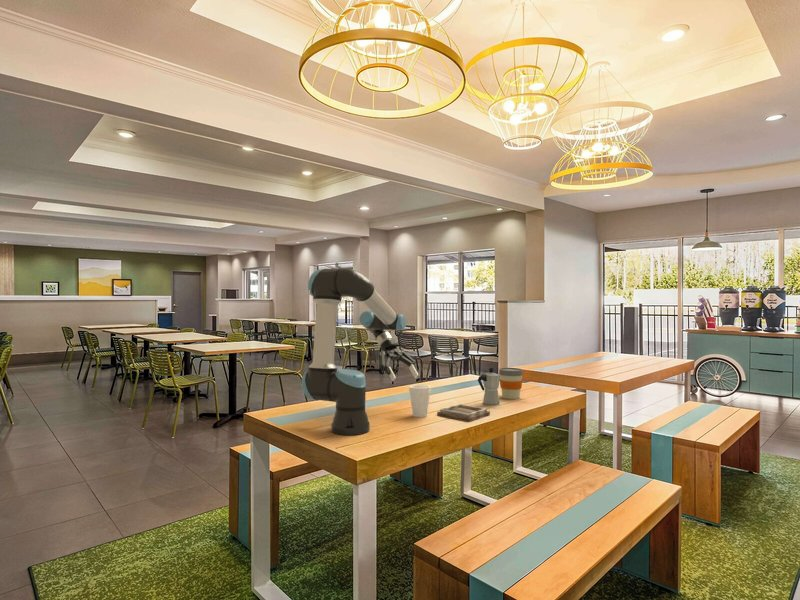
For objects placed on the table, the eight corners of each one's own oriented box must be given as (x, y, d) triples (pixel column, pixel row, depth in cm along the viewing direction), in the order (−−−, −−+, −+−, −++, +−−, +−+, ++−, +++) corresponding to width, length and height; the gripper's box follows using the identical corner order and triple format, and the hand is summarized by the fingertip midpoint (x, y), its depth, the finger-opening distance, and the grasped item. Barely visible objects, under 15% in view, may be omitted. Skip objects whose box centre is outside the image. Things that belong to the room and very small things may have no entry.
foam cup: (405, 416, 203) (405, 387, 203) (414, 412, 211) (414, 384, 211) (425, 419, 198) (425, 389, 198) (433, 414, 206) (433, 385, 207)
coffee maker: (494, 400, 237) (494, 365, 238) (506, 403, 230) (506, 367, 230) (472, 403, 230) (472, 367, 230) (484, 407, 222) (484, 370, 222)
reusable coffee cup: (494, 396, 246) (494, 369, 247) (507, 393, 255) (507, 367, 255) (514, 400, 237) (514, 371, 237) (527, 397, 246) (527, 369, 246)
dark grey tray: (469, 421, 194) (469, 415, 194) (437, 415, 205) (437, 409, 205) (489, 414, 206) (490, 408, 206) (458, 409, 218) (458, 403, 218)
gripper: (403, 347, 235) (422, 380, 223) (362, 350, 219) (380, 385, 207) (409, 337, 231) (429, 370, 219) (368, 339, 215) (387, 375, 203)
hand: (405, 378), depth 213 cm, fingers open, 13 cm apart
